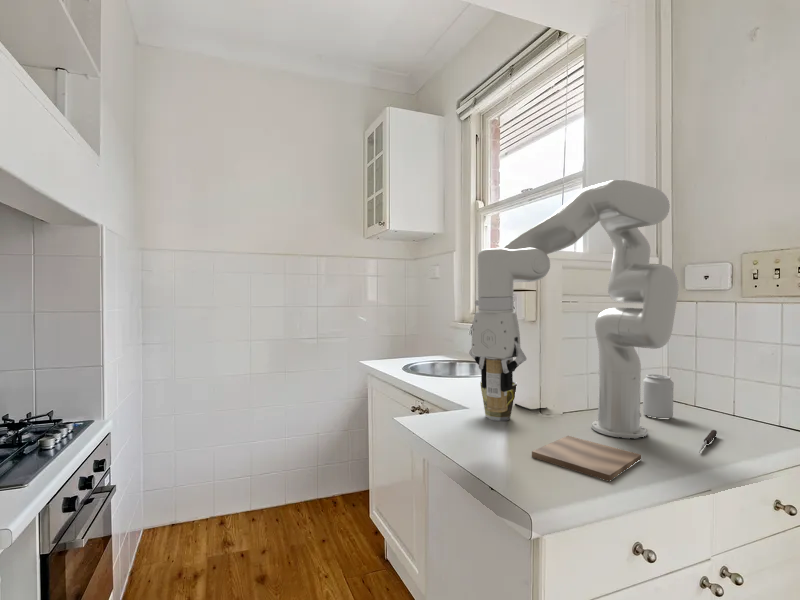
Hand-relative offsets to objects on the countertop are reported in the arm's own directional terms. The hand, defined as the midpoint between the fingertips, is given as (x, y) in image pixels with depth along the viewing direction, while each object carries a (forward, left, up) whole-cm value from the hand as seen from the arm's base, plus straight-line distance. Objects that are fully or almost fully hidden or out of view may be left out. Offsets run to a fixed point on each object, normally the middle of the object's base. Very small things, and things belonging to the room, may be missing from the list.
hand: (496, 387), depth 93 cm
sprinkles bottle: (0, 0, -5) cm, 5 cm away
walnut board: (-11, +15, -14) cm, 23 cm away
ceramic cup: (-22, -14, -14) cm, 30 cm away
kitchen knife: (-41, +30, -15) cm, 53 cm away
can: (-59, +14, -14) cm, 63 cm away
